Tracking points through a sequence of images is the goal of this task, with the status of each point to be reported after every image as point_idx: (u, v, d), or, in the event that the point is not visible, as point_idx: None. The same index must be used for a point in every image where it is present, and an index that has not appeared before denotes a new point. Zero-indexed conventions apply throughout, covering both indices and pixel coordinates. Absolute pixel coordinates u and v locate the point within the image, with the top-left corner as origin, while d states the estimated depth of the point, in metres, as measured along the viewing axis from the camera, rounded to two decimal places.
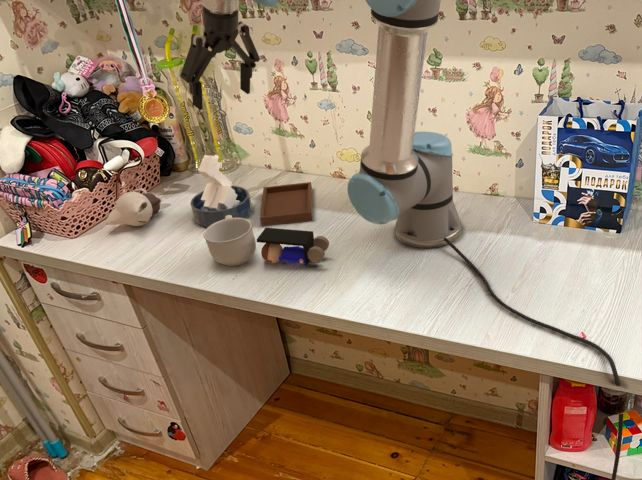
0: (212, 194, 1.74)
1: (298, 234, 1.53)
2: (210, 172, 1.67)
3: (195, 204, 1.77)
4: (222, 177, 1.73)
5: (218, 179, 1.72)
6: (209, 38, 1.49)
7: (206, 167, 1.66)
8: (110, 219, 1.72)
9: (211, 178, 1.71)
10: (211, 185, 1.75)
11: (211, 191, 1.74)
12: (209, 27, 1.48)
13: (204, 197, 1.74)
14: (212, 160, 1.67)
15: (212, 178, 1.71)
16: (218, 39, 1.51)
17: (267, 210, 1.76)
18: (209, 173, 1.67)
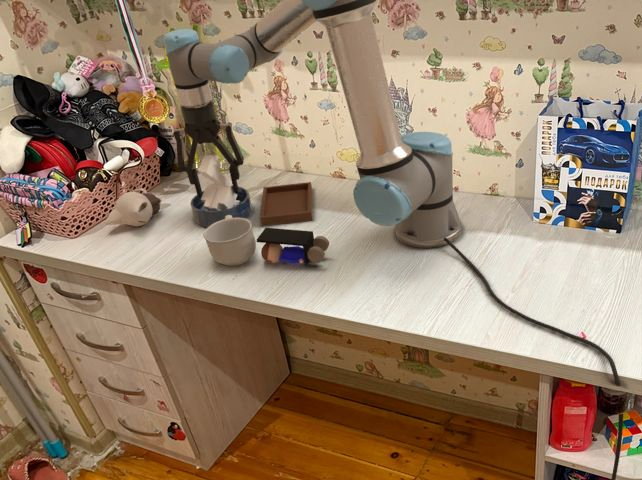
0: (212, 194, 1.74)
1: (298, 234, 1.53)
2: (210, 172, 1.67)
3: (195, 204, 1.77)
4: (222, 177, 1.73)
5: (218, 179, 1.72)
6: (185, 129, 1.63)
7: (206, 167, 1.66)
8: (110, 219, 1.72)
9: (211, 178, 1.71)
10: (211, 185, 1.74)
11: (211, 191, 1.74)
12: None
13: (204, 197, 1.74)
14: (212, 160, 1.67)
15: (212, 178, 1.71)
16: (194, 131, 1.63)
17: (267, 210, 1.76)
18: (209, 173, 1.67)
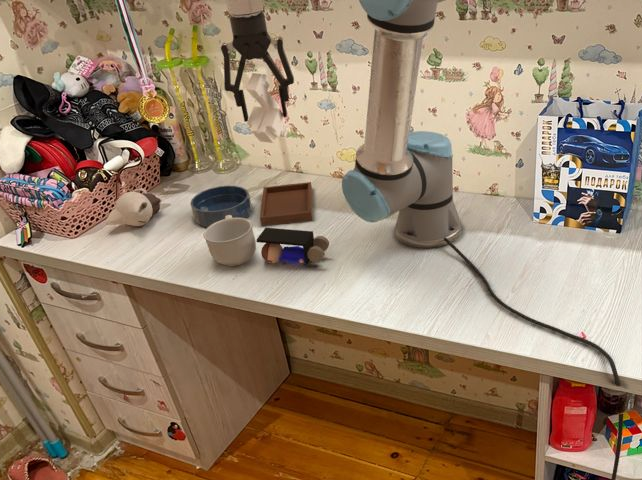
0: (259, 117, 1.63)
1: (298, 234, 1.53)
2: (259, 91, 1.57)
3: (195, 204, 1.77)
4: (270, 99, 1.62)
5: (266, 100, 1.61)
6: (234, 43, 1.52)
7: (255, 85, 1.56)
8: (110, 219, 1.72)
9: (259, 99, 1.61)
10: (258, 108, 1.64)
11: (259, 114, 1.63)
12: (232, 31, 1.51)
13: (251, 121, 1.64)
14: (261, 78, 1.56)
15: (260, 99, 1.60)
16: (243, 45, 1.53)
17: (267, 210, 1.76)
18: (258, 92, 1.56)
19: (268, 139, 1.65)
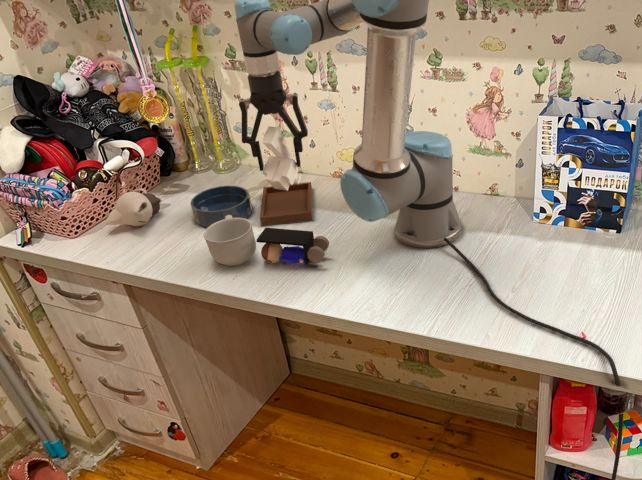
0: (274, 167, 1.71)
1: (298, 234, 1.53)
2: (275, 144, 1.64)
3: (195, 204, 1.77)
4: (285, 150, 1.70)
5: (281, 151, 1.69)
6: (251, 99, 1.60)
7: (271, 138, 1.63)
8: (110, 219, 1.72)
9: (274, 150, 1.68)
10: (273, 158, 1.72)
11: (274, 164, 1.71)
12: None
13: (266, 170, 1.71)
14: (277, 131, 1.64)
15: (275, 150, 1.68)
16: (260, 102, 1.60)
17: (267, 210, 1.76)
18: (274, 145, 1.64)
19: (282, 187, 1.72)
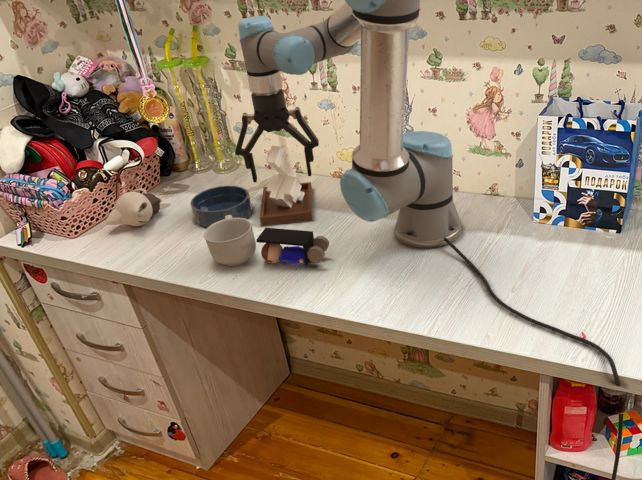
0: (278, 185, 1.74)
1: (298, 234, 1.53)
2: (278, 163, 1.67)
3: (195, 204, 1.77)
4: (288, 168, 1.73)
5: (284, 170, 1.72)
6: (255, 117, 1.63)
7: (275, 157, 1.66)
8: (110, 219, 1.72)
9: (278, 169, 1.71)
10: (276, 176, 1.75)
11: (277, 182, 1.74)
12: None
13: (269, 188, 1.74)
14: (280, 150, 1.67)
15: (279, 169, 1.71)
16: (264, 119, 1.63)
17: (267, 210, 1.76)
18: (277, 164, 1.67)
19: (286, 204, 1.75)
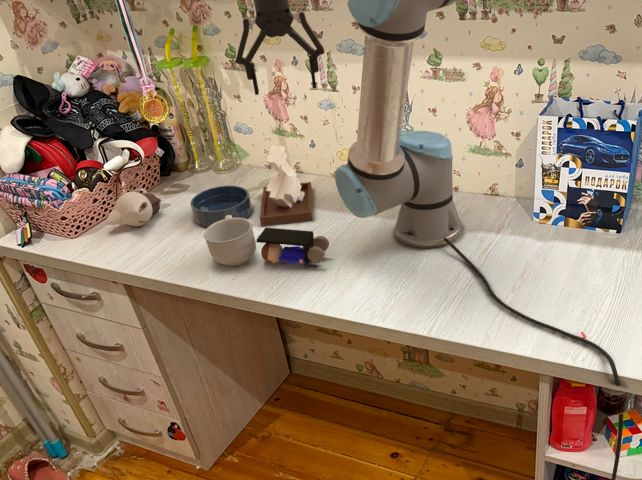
0: (278, 185, 1.74)
1: (298, 234, 1.53)
2: (278, 163, 1.67)
3: (195, 204, 1.77)
4: (288, 168, 1.73)
5: (284, 170, 1.72)
6: (257, 20, 1.53)
7: (275, 157, 1.66)
8: (110, 219, 1.72)
9: (278, 169, 1.71)
10: (276, 176, 1.75)
11: (277, 182, 1.74)
12: (255, 8, 1.52)
13: (269, 188, 1.74)
14: (280, 151, 1.67)
15: (279, 169, 1.71)
16: (266, 22, 1.54)
17: (267, 210, 1.76)
18: (277, 164, 1.67)
19: (286, 204, 1.75)
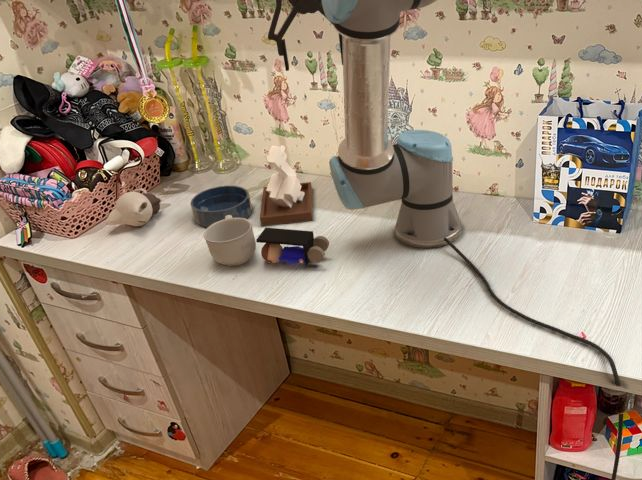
0: (278, 185, 1.74)
1: (298, 234, 1.53)
2: (278, 163, 1.67)
3: (195, 204, 1.77)
4: (288, 168, 1.73)
5: (284, 170, 1.72)
6: None
7: (275, 157, 1.66)
8: (110, 219, 1.72)
9: (278, 169, 1.71)
10: (276, 176, 1.75)
11: (277, 182, 1.74)
12: None
13: (269, 188, 1.74)
14: (280, 151, 1.67)
15: (279, 169, 1.71)
16: None
17: (267, 210, 1.76)
18: (277, 164, 1.67)
19: (286, 204, 1.75)
